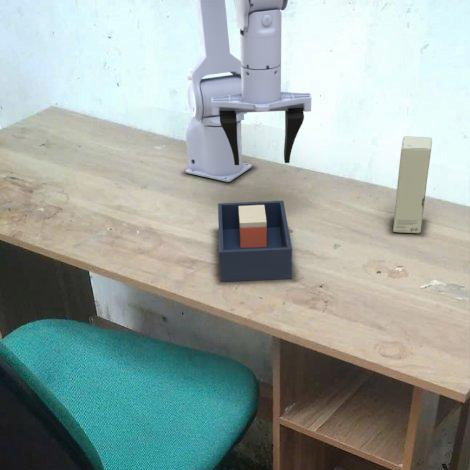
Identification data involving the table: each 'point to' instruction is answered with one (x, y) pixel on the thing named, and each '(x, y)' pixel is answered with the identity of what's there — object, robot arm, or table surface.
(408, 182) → the box
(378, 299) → the table surface
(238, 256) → the navy blue open bin
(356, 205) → the table surface
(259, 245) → the box
